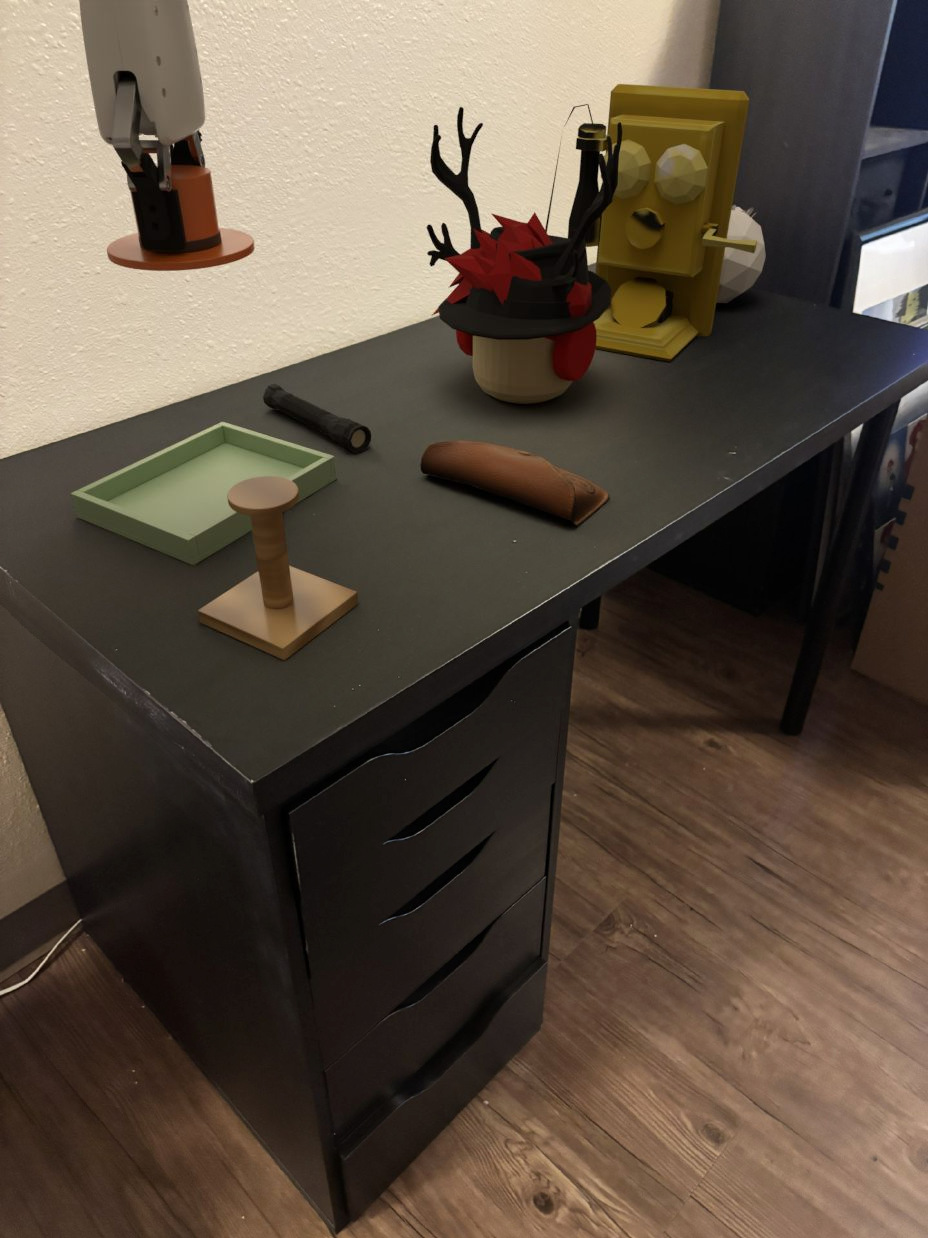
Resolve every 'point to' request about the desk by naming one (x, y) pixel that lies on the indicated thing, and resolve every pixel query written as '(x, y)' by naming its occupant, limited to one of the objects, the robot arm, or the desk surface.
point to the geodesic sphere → (741, 256)
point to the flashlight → (319, 419)
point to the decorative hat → (522, 290)
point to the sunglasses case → (515, 477)
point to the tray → (197, 489)
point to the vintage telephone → (662, 212)
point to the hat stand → (274, 580)
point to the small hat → (187, 231)
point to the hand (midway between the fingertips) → (179, 234)
